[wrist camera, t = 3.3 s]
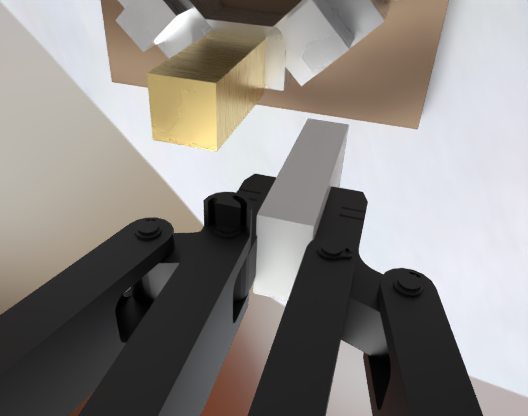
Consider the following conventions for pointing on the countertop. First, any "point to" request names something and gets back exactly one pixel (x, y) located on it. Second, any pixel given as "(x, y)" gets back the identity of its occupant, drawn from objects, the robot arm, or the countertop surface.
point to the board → (337, 73)
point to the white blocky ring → (235, 57)
